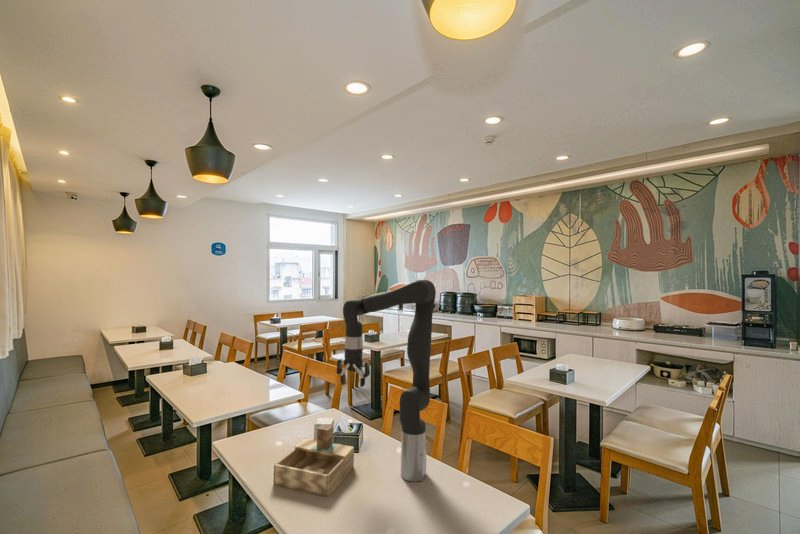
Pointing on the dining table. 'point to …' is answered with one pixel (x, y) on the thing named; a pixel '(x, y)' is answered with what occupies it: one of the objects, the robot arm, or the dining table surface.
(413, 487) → the dining table surface
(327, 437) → the block
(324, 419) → the supplement box
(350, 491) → the dining table surface
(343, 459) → the crate
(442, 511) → the dining table surface
